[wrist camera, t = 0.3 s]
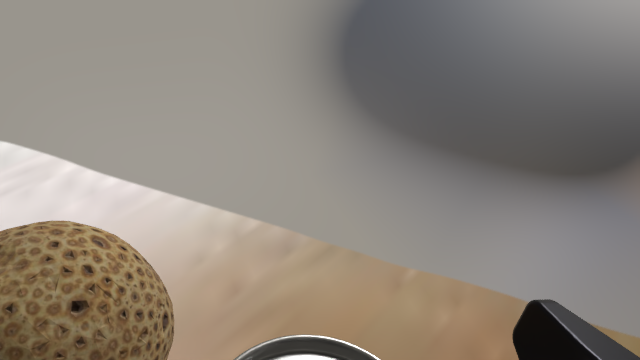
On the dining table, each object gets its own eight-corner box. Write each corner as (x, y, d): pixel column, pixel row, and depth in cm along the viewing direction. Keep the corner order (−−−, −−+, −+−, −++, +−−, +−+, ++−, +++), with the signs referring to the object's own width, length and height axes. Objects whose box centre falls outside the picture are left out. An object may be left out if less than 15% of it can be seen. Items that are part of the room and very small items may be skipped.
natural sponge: (54, 303, 28) (32, 141, 22) (206, 368, 26) (225, 214, 21) (-116, 463, 20) (-212, 282, 15) (83, 566, 19) (61, 410, 13)
